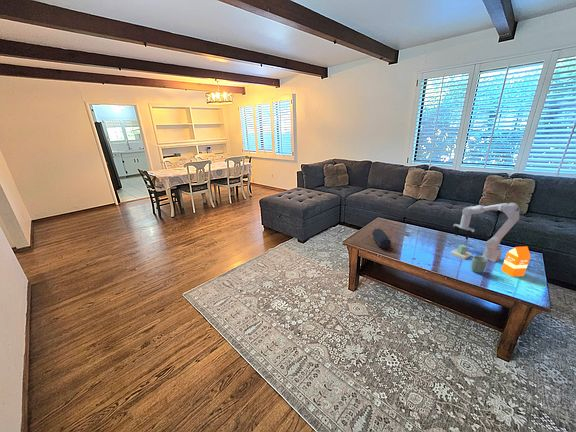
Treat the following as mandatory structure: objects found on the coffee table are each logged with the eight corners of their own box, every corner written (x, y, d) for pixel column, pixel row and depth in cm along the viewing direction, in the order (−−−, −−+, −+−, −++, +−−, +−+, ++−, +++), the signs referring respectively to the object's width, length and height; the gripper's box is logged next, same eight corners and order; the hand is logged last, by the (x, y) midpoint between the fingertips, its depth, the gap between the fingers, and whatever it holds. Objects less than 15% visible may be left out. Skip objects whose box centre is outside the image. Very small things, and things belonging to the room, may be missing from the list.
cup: (470, 267, 169) (473, 254, 166) (484, 270, 164) (487, 258, 161) (469, 271, 164) (472, 259, 160) (483, 275, 159) (487, 262, 155)
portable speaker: (391, 249, 196) (393, 239, 193) (379, 249, 197) (380, 239, 193) (381, 237, 220) (382, 227, 216) (370, 237, 220) (371, 227, 217)
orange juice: (500, 270, 165) (509, 244, 158) (512, 269, 165) (521, 243, 158) (511, 276, 157) (521, 249, 151) (524, 275, 158) (533, 249, 151)
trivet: (470, 256, 184) (471, 253, 183) (463, 259, 179) (464, 256, 179) (457, 251, 192) (457, 248, 191) (450, 254, 188) (450, 251, 187)
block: (465, 253, 183) (467, 247, 181) (460, 254, 183) (462, 247, 180) (461, 251, 187) (463, 244, 184) (456, 251, 186) (458, 244, 184)
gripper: (478, 223, 184) (474, 239, 189) (458, 218, 196) (454, 233, 201) (473, 225, 181) (469, 241, 186) (453, 219, 193) (450, 234, 198)
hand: (461, 237), depth 193 cm, fingers open, 7 cm apart
